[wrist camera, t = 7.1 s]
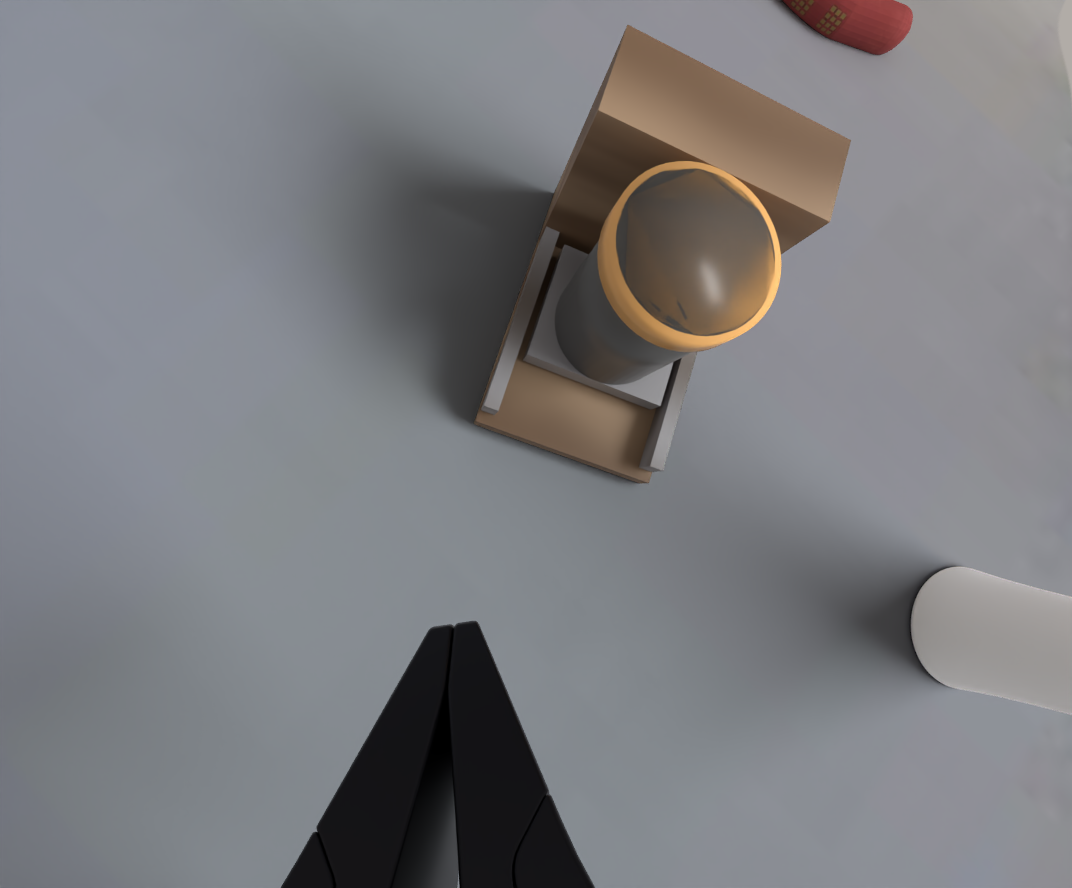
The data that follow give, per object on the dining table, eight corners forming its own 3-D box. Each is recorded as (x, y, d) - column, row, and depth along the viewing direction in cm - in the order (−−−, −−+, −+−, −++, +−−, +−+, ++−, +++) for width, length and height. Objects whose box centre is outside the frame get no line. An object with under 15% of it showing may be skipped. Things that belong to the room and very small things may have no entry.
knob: (649, 414, 23) (764, 374, 15) (521, 365, 22) (574, 295, 14) (682, 302, 24) (807, 211, 16) (560, 250, 23) (630, 125, 15)
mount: (639, 483, 24) (763, 478, 15) (473, 424, 23) (504, 381, 14) (705, 259, 26) (851, 140, 17) (554, 192, 24) (627, 24, 16)
